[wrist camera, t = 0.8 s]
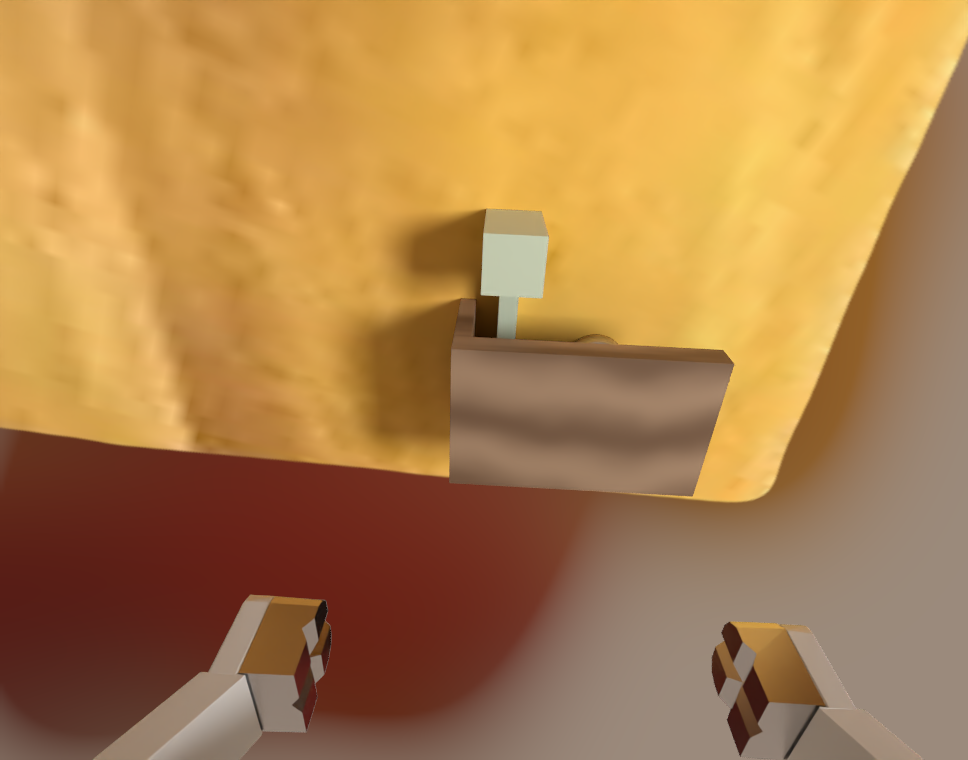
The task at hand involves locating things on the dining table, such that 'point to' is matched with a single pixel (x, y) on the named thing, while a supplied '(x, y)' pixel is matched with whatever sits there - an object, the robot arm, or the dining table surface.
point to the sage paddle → (513, 261)
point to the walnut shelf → (581, 413)
